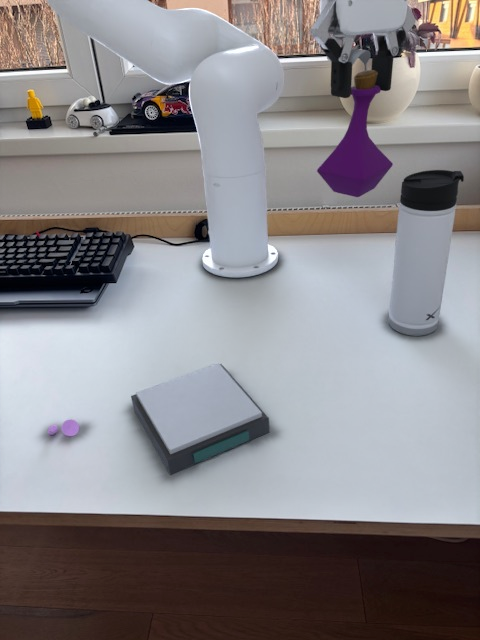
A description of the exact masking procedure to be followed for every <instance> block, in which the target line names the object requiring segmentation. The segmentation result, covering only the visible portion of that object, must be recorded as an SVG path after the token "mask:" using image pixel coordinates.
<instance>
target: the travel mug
mask: <svg viewBox="0 0 480 640" xmlns="http://www.w3.org/2000/svg"><path fill="white" fill-rule="evenodd" d="M464 178H465V177H464V174H463V172H462V170H446V169H430V170H423V171H418V172H415V173H411V174H409V175H407V176H405V177H404V178H403V181H402V182H401V189H400V199H399V206H398V213H397V214H398V215H397V224H396V235H395V246H394V258H393V266H392V277H391V278H392V279H391V287H390V288H391V289H390V299H389V309H388V310H389V311H388V319H387V321H388V324H389V326H390V328H392V330H394V331H395V332H398V333H400V334H402V335H407V336H411V337H418V336H419V337H420V336H427V335H430V334H432V333H434V332H435V331H436V330H437V329H438V327H439V322H440V315H441V310H442V309H441V308H442V301H443V295H444V289H445V282H446V276H447V270H448V262H449V255H450V249H451V243H452V237H453V230H454V223H455V216H456V208H457V204H458V203H457V201H458V200H457V199H458V193H459V183H460V182H461V183H463V182H464V181H465V180H464Z"/></svg>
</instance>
